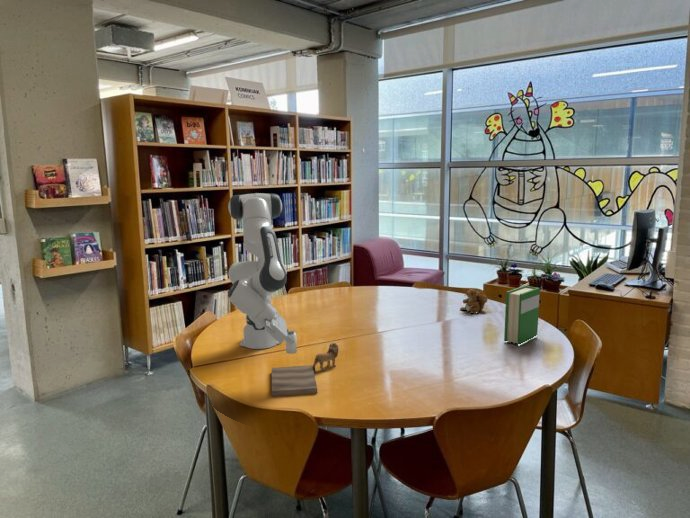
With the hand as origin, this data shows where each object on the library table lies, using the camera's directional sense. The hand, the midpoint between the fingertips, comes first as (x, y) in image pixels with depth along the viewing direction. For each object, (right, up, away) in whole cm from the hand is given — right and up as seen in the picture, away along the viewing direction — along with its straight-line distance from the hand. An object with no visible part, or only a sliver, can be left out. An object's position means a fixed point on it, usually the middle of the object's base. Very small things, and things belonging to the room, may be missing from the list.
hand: (292, 340), depth 185 cm
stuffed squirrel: (+92, 0, +99) cm, 135 cm away
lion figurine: (+11, -14, +17) cm, 25 cm away
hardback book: (+101, -8, +48) cm, 112 cm away
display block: (0, -16, +3) cm, 16 cm away
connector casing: (-1, -4, +1) cm, 4 cm away
